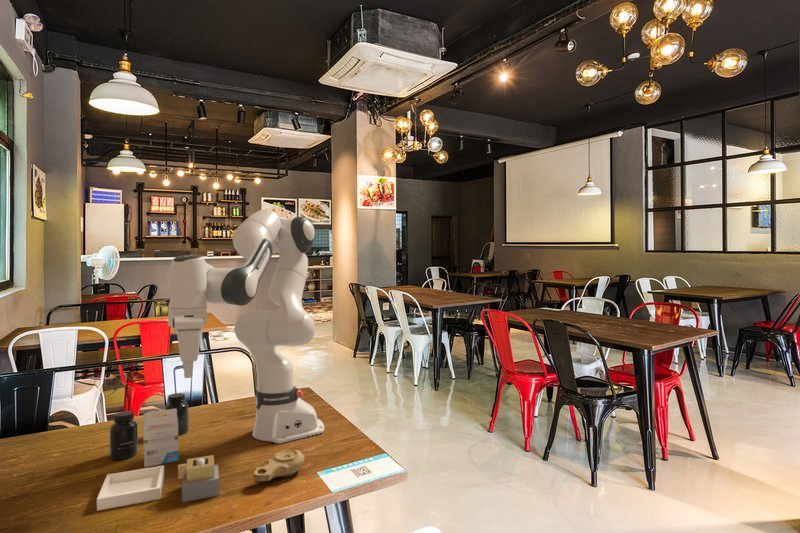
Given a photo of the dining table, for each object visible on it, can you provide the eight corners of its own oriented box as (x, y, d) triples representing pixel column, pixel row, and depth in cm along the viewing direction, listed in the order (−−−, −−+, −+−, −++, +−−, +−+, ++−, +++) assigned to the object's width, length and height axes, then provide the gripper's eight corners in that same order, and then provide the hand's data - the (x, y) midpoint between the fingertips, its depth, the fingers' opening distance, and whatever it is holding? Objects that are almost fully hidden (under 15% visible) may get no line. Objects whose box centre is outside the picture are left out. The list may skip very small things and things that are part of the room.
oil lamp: (250, 489, 113) (250, 469, 113) (270, 463, 127) (270, 445, 127) (293, 491, 112) (293, 470, 112) (308, 464, 126) (308, 446, 126)
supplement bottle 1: (125, 461, 128) (124, 418, 127) (103, 459, 129) (103, 416, 129) (143, 451, 134) (142, 410, 134) (123, 449, 136) (122, 408, 135)
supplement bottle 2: (165, 430, 150) (164, 393, 150) (188, 426, 153) (187, 390, 153) (165, 437, 144) (164, 399, 144) (189, 434, 147) (188, 396, 147)
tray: (164, 475, 120) (164, 465, 120) (160, 498, 108) (160, 487, 108) (107, 484, 115) (107, 474, 115) (96, 510, 103) (96, 499, 103)
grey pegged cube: (218, 480, 117) (217, 450, 117) (219, 495, 110) (218, 464, 110) (183, 486, 114) (182, 456, 114) (182, 502, 107) (181, 470, 106)
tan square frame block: (213, 466, 116) (213, 455, 116) (214, 477, 110) (214, 465, 110) (178, 472, 113) (178, 460, 113) (177, 484, 107) (177, 471, 107)
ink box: (178, 454, 132) (177, 403, 132) (178, 461, 128) (178, 408, 128) (144, 460, 128) (143, 407, 128) (143, 467, 124) (142, 413, 124)
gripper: (173, 315, 125) (172, 366, 125) (174, 323, 107) (174, 383, 107) (198, 314, 128) (198, 364, 128) (204, 322, 110) (203, 380, 109)
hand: (187, 373), depth 117 cm, fingers open, 8 cm apart
